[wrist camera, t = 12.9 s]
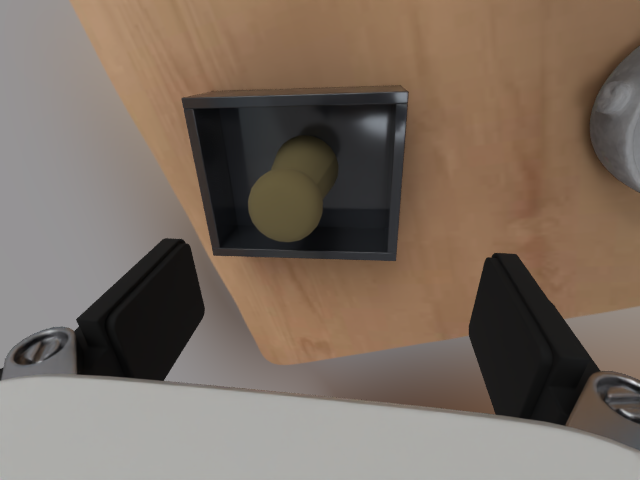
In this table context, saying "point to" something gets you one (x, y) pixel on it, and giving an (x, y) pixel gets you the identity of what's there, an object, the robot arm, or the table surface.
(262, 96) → the open box
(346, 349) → the table surface
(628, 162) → the dish
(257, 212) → the olive pawn
